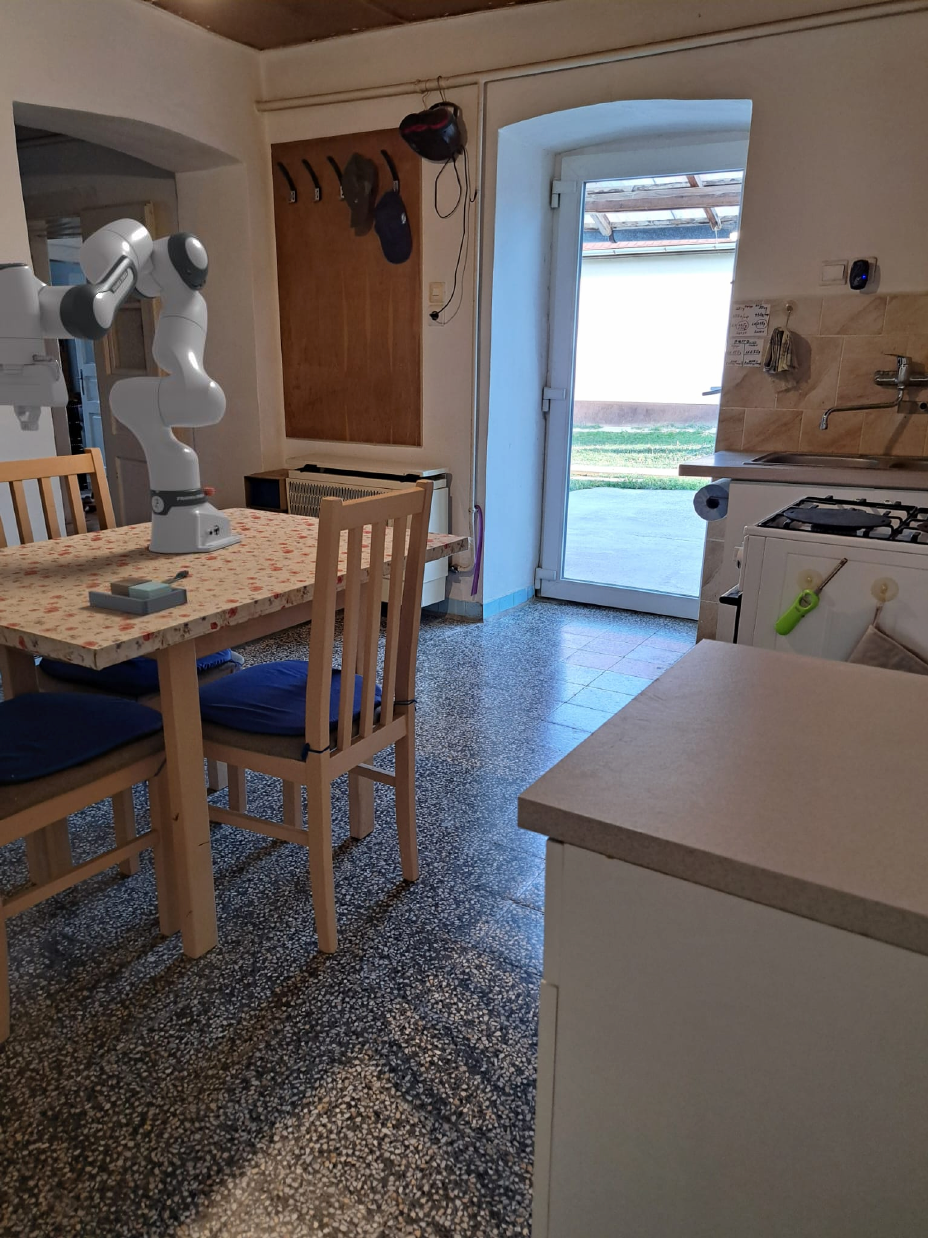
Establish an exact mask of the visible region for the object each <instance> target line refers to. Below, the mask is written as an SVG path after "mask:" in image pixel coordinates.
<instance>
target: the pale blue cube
mask: <svg viewBox="0 0 928 1238" xmlns="http://www.w3.org/2000/svg"><path fill="white" fill-rule="evenodd" d="M171 587H172V584H164V583H161V582H157V581H152V582H147V583H143V584H139V585H135V586H132V587H129V595H130V598H136V599H141V600H145V599H149V598H152V597H156V596H159V595H163V594H166V593H170V592H172V589H171Z"/></svg>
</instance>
